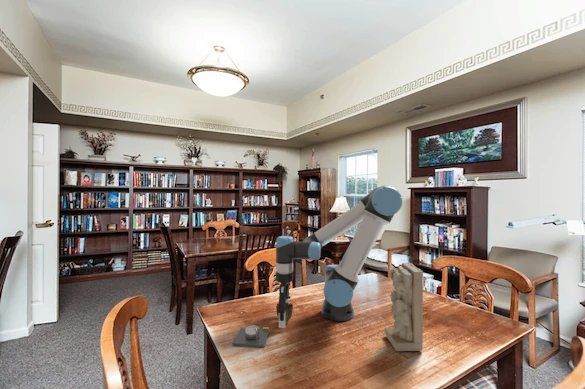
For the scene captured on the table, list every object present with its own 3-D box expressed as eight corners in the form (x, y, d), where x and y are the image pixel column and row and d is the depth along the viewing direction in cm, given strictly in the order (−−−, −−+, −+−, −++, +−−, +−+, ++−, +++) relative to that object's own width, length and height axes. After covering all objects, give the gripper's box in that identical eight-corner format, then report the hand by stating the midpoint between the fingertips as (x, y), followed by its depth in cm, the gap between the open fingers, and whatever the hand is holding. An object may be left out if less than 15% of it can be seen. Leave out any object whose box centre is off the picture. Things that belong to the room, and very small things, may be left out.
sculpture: (384, 335, 112) (384, 260, 112) (410, 335, 112) (410, 261, 112) (395, 353, 99) (395, 269, 99) (423, 353, 99) (424, 269, 99)
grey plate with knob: (269, 331, 114) (269, 321, 114) (263, 347, 102) (264, 336, 102) (241, 330, 115) (241, 320, 115) (232, 345, 103) (232, 334, 103)
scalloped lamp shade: (290, 328, 117) (291, 309, 117) (274, 326, 119) (274, 307, 119) (294, 320, 125) (294, 302, 125) (278, 318, 126) (278, 301, 126)
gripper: (279, 264, 135) (279, 308, 135) (271, 280, 110) (270, 333, 110) (295, 264, 134) (294, 308, 134) (290, 280, 109) (289, 334, 109)
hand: (284, 320), depth 122 cm, fingers open, 13 cm apart
